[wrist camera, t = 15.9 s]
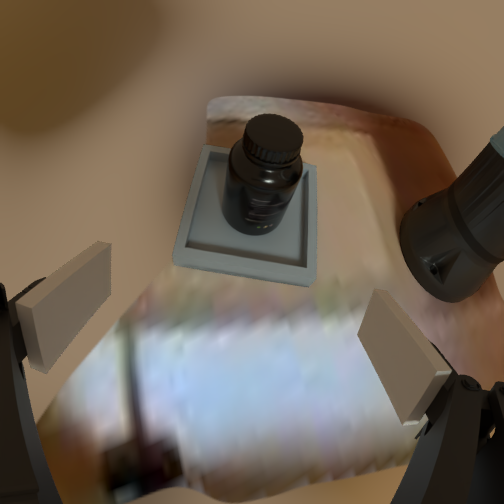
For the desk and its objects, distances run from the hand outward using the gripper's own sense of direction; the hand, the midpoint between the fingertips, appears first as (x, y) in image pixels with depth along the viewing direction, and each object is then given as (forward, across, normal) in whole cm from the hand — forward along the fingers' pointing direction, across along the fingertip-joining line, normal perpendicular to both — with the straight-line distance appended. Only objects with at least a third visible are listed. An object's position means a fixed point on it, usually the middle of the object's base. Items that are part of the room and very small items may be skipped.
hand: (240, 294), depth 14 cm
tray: (+21, +1, -1) cm, 21 cm away
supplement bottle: (+21, +1, 0) cm, 21 cm away
